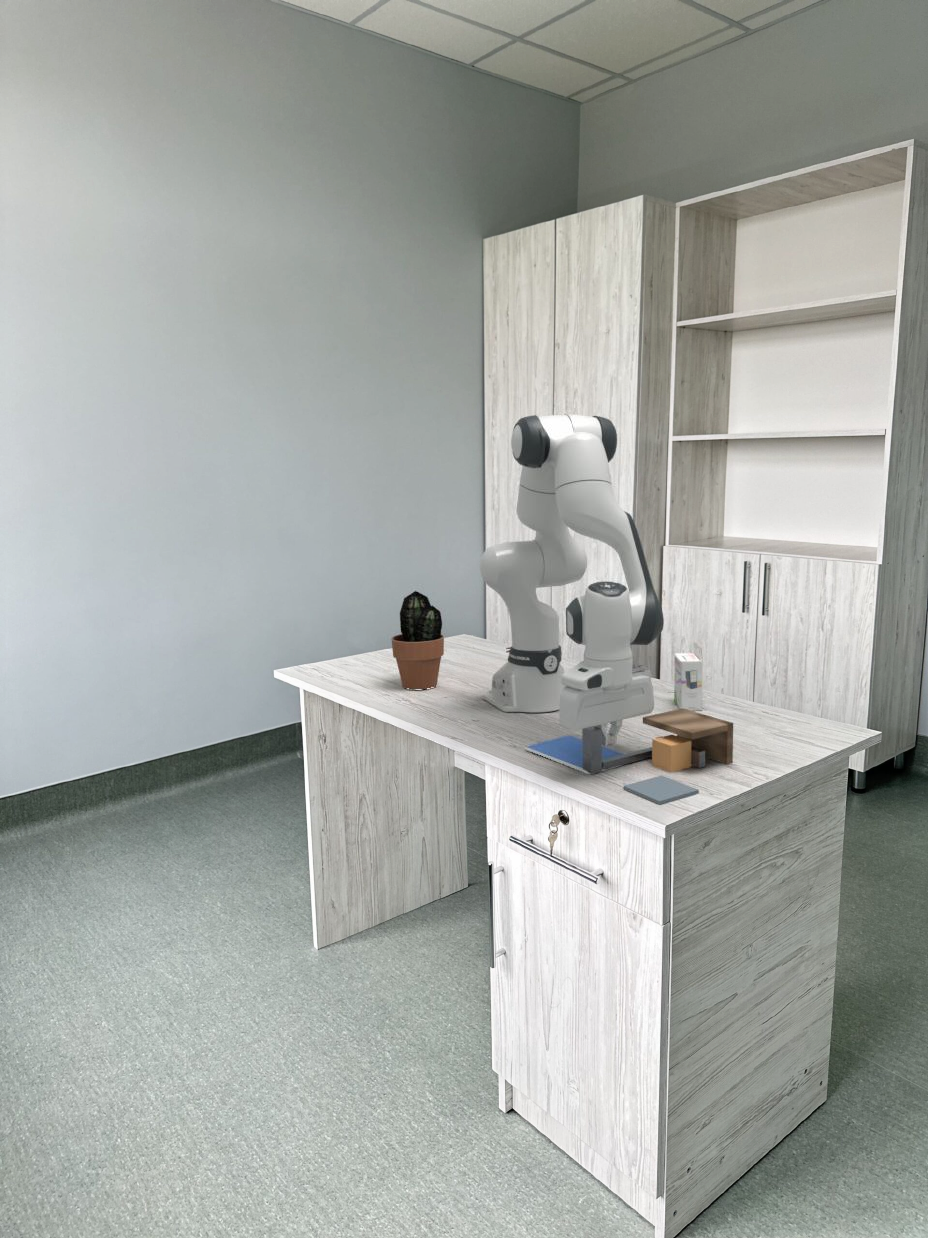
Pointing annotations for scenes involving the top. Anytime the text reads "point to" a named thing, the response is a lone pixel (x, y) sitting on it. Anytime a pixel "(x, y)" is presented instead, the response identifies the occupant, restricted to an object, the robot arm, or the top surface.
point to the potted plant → (418, 642)
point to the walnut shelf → (698, 731)
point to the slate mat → (661, 789)
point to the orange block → (671, 753)
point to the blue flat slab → (568, 752)
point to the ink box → (688, 679)
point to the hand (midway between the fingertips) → (608, 744)
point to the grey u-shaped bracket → (596, 764)
